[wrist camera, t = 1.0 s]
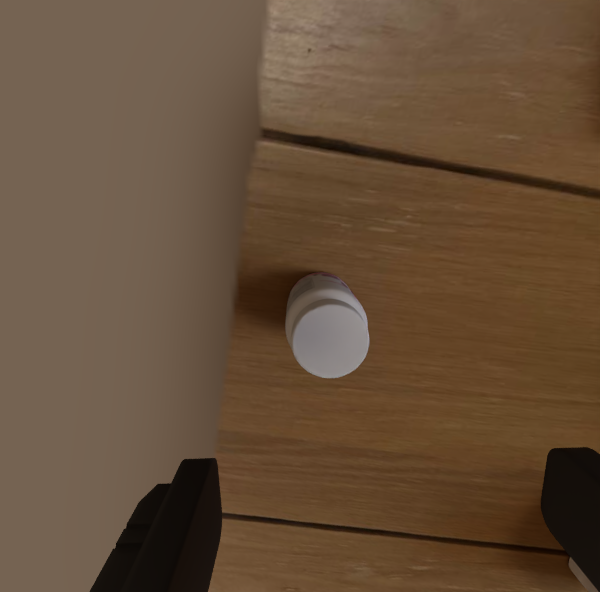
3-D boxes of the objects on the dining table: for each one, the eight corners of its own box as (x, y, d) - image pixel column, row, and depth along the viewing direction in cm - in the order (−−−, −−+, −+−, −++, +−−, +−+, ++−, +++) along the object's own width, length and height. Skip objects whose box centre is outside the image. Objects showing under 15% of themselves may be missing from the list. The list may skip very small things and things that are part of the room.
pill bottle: (365, 298, 26) (397, 337, 18) (323, 345, 27) (335, 403, 18) (316, 257, 25) (325, 277, 17) (274, 306, 26) (264, 349, 18)
